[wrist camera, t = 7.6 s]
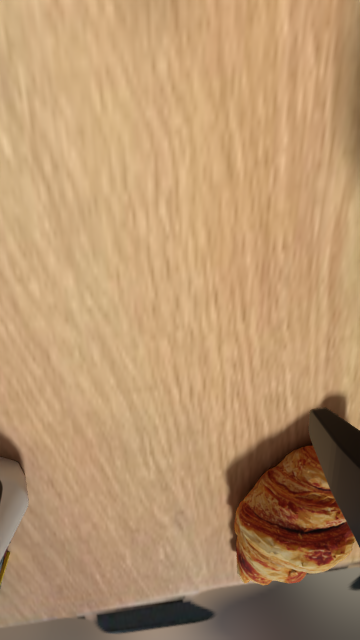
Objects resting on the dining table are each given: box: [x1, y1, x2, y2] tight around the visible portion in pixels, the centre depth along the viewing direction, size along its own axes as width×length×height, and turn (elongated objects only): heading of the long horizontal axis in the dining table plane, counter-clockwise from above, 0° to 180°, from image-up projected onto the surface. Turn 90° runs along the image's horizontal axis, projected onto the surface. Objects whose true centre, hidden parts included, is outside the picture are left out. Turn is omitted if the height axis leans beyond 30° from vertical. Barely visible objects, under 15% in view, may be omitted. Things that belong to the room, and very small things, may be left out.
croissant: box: [234, 445, 356, 585], centre depth 30 cm, size 21×10×8 cm, turn 163°
